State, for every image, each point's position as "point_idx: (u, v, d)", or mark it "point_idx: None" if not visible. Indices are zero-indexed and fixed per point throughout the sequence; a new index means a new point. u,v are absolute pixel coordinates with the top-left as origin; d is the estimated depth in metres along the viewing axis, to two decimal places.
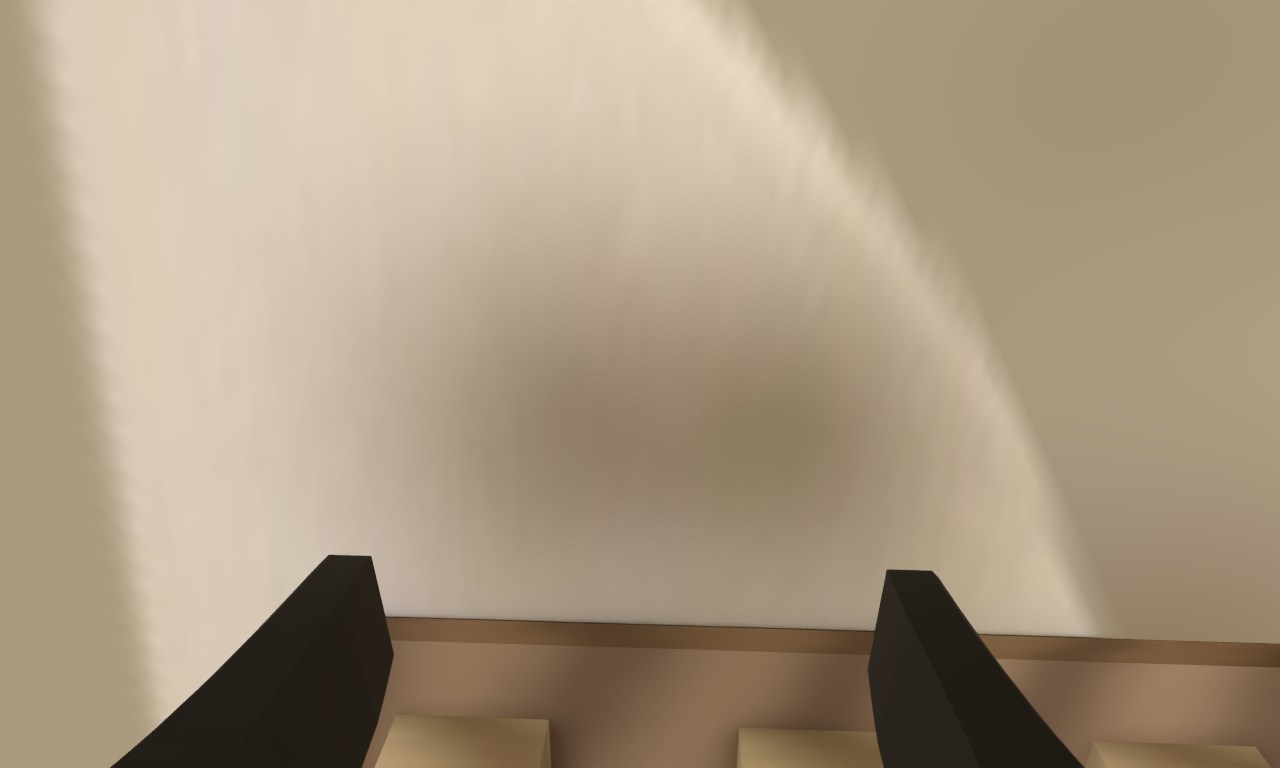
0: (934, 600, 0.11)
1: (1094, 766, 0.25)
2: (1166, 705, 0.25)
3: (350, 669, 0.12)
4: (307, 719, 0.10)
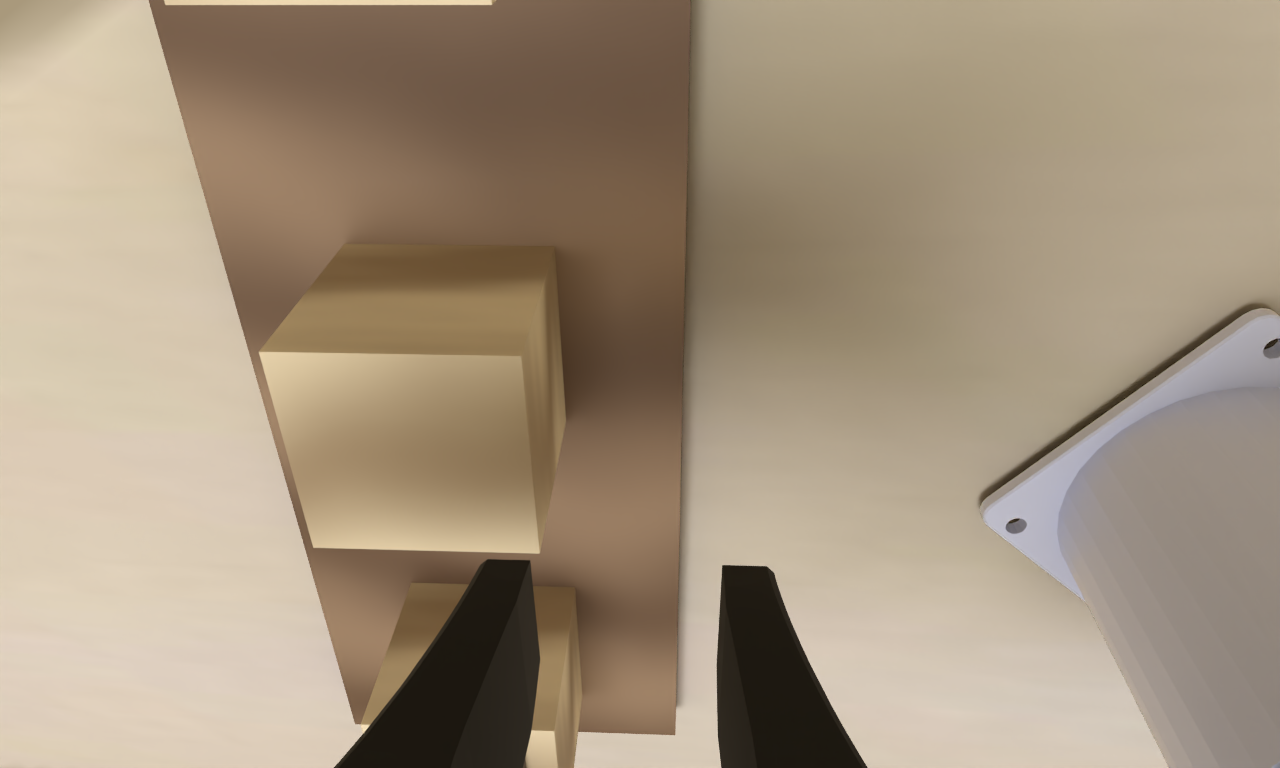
0: (758, 595, 0.11)
1: None
2: None
3: (518, 674, 0.11)
4: (492, 725, 0.10)
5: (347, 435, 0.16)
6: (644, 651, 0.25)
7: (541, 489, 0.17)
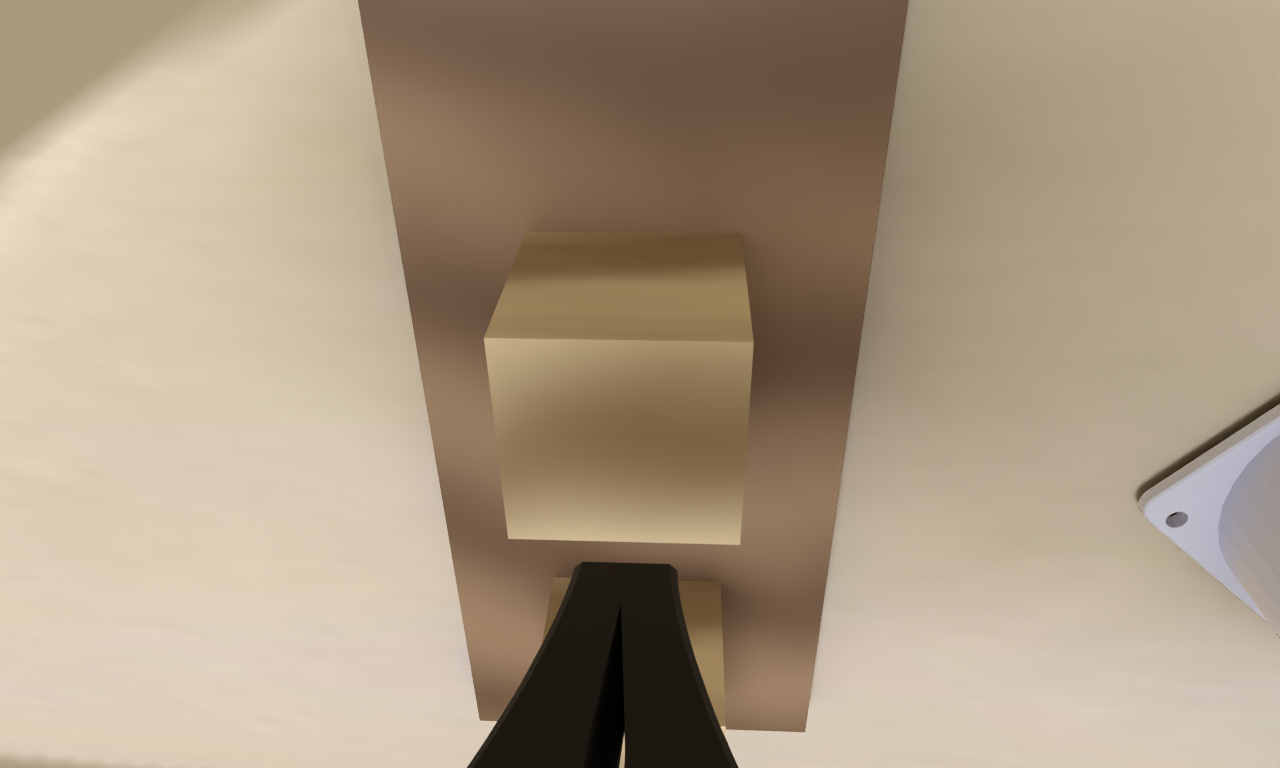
0: (655, 592, 0.11)
1: None
2: None
3: (619, 678, 0.11)
4: (604, 729, 0.10)
5: (561, 423, 0.16)
6: (784, 647, 0.25)
7: None
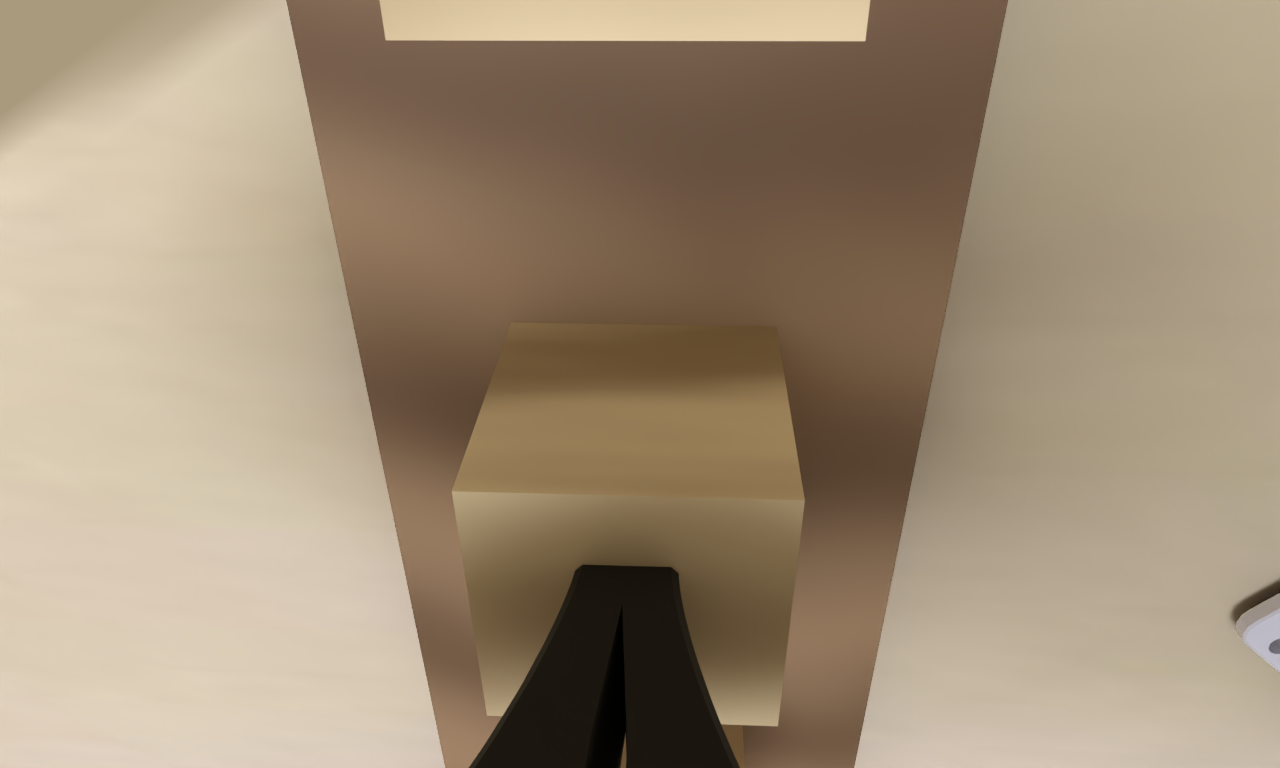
0: (656, 593, 0.11)
1: None
2: None
3: (620, 678, 0.11)
4: (605, 729, 0.10)
5: (553, 591, 0.12)
6: None
7: None
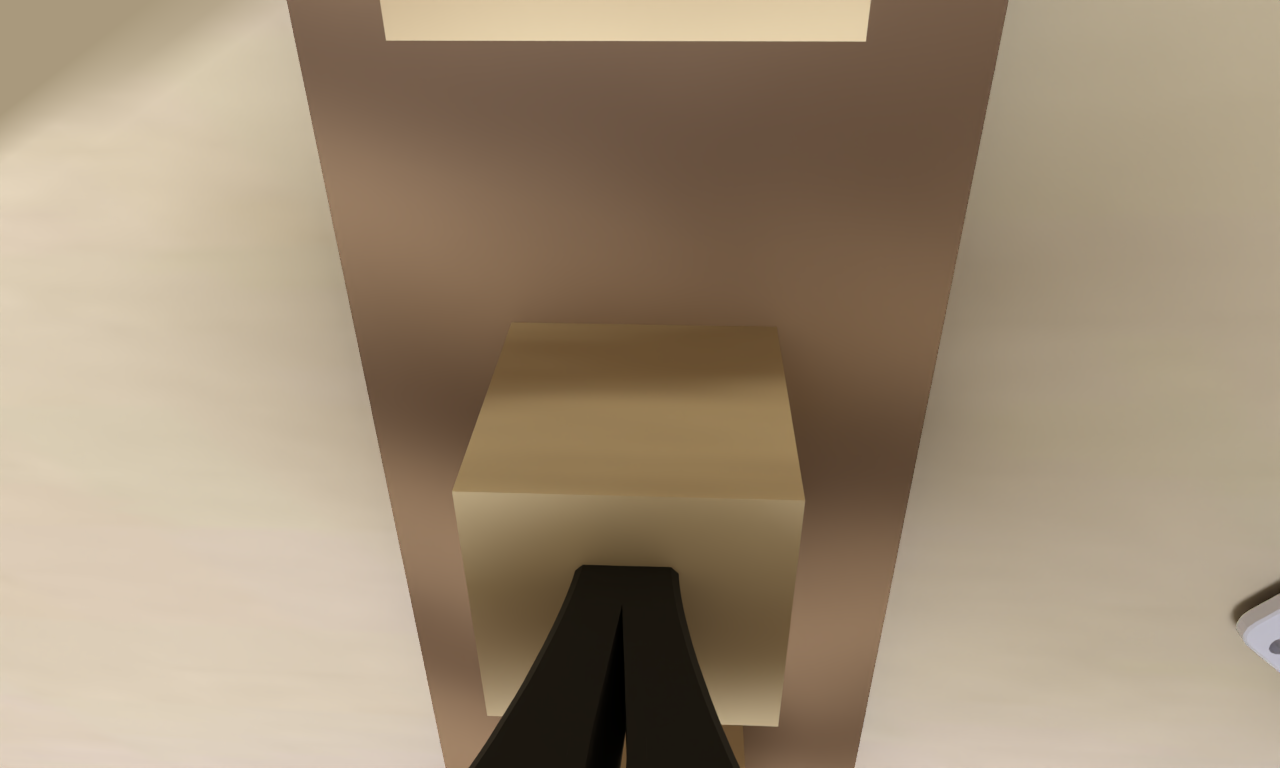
0: (657, 592, 0.11)
1: None
2: None
3: (620, 678, 0.11)
4: (605, 729, 0.10)
5: (553, 590, 0.12)
6: None
7: None
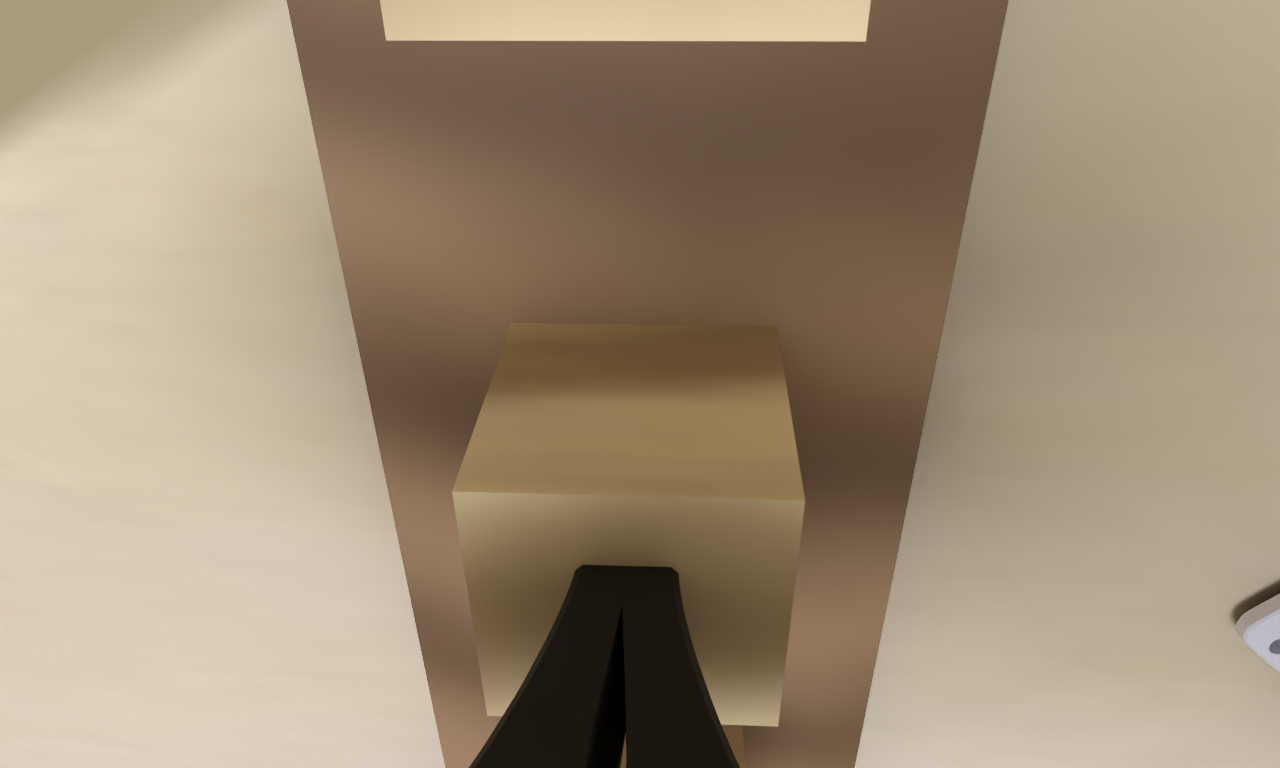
0: (657, 592, 0.11)
1: None
2: None
3: (620, 678, 0.11)
4: (605, 729, 0.10)
5: (553, 590, 0.12)
6: None
7: None
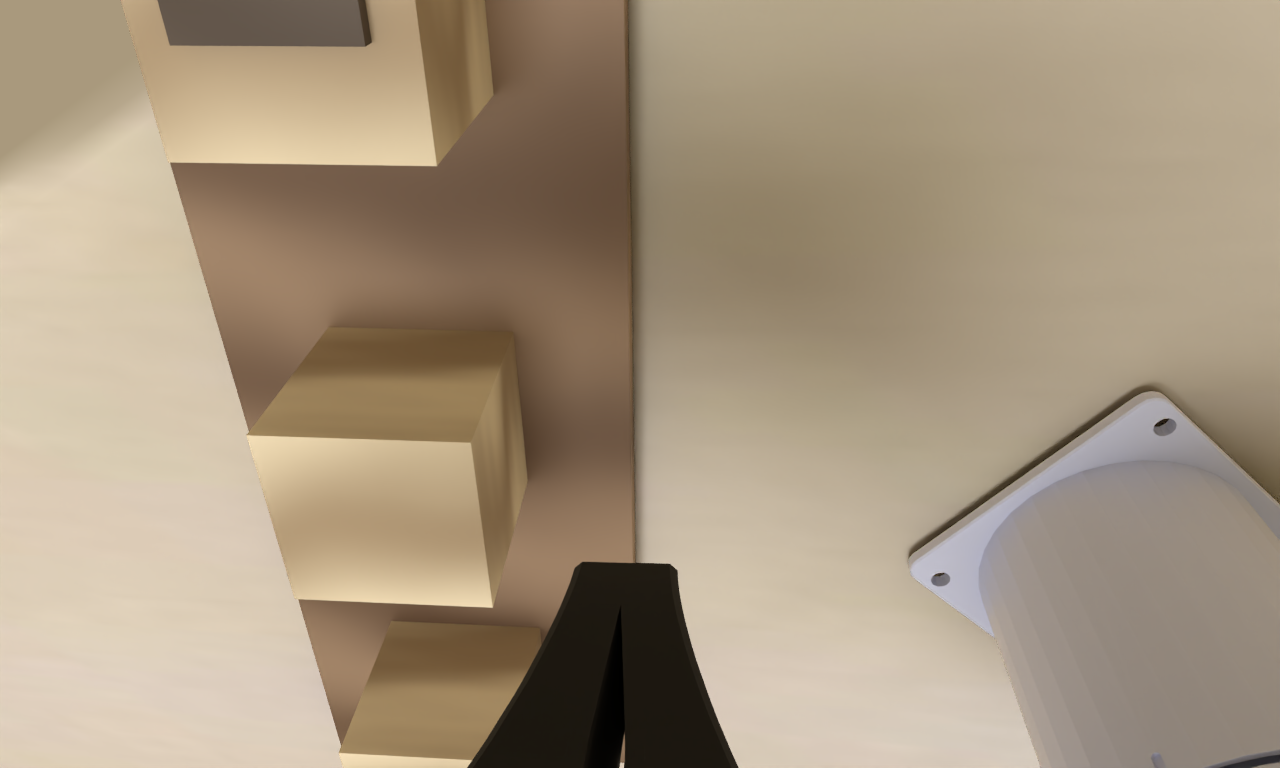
0: (655, 592, 0.11)
1: None
2: None
3: (619, 677, 0.11)
4: (604, 729, 0.10)
5: (322, 505, 0.18)
6: None
7: (495, 550, 0.20)
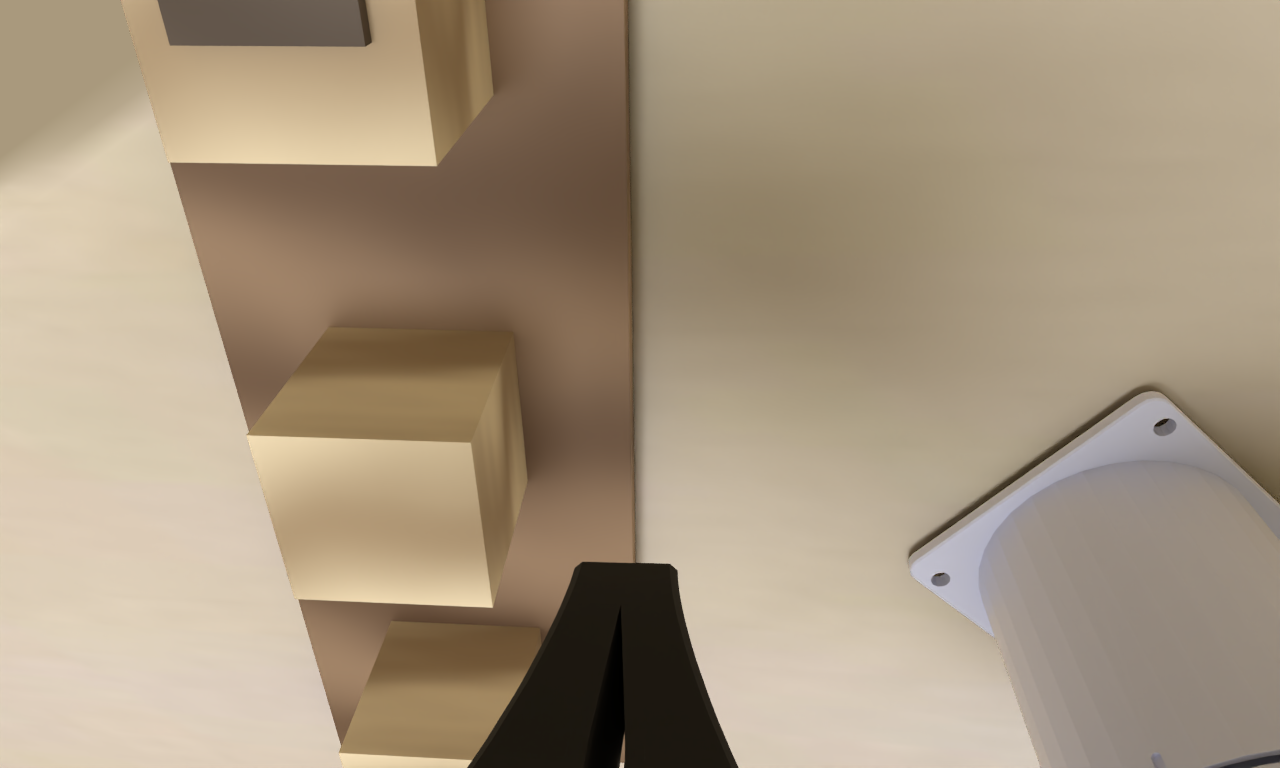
0: (655, 592, 0.11)
1: None
2: None
3: (619, 677, 0.11)
4: (604, 729, 0.10)
5: (322, 505, 0.18)
6: None
7: (495, 550, 0.20)
